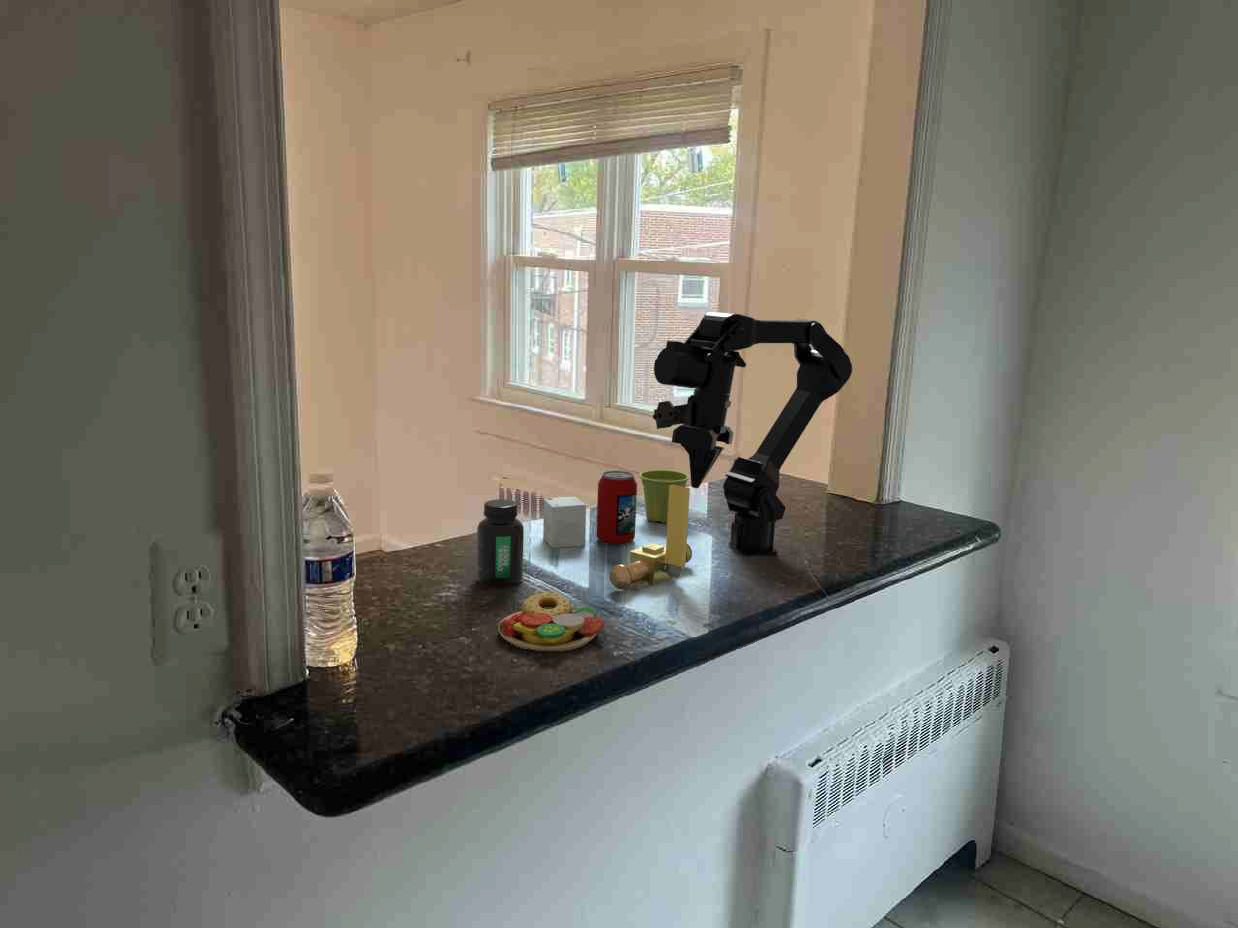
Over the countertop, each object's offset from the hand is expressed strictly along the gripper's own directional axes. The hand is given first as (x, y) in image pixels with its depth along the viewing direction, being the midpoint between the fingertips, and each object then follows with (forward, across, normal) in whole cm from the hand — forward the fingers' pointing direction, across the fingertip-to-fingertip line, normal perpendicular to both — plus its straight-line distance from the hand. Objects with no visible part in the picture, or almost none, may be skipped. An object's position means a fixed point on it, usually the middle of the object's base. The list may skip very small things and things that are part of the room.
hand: (695, 487), depth 144 cm
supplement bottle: (+17, +19, -23) cm, 34 cm away
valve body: (+14, +9, -2) cm, 17 cm away
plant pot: (+11, -24, -10) cm, 28 cm away
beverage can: (+13, -7, -14) cm, 20 cm away
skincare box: (+15, -3, -22) cm, 26 cm away
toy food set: (+18, +34, -8) cm, 40 cm away
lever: (+13, +10, +1) cm, 16 cm away
